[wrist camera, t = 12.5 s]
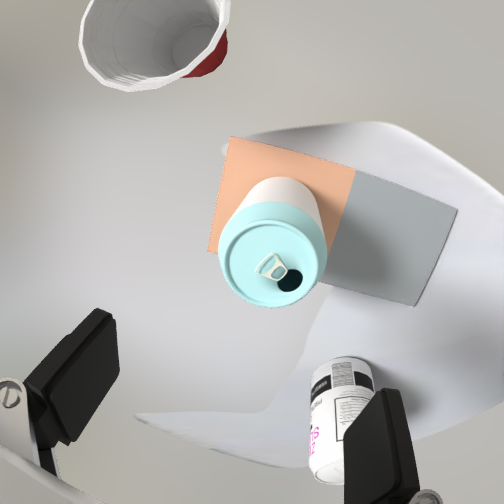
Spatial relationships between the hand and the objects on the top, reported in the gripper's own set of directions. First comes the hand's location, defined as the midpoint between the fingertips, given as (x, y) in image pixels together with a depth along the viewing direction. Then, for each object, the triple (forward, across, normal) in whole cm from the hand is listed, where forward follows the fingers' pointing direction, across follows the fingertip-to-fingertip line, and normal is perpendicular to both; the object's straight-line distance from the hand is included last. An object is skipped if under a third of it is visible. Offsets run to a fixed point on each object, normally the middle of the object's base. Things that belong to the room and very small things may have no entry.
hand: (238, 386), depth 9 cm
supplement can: (+22, -14, +19) cm, 32 cm away
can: (+21, 0, 0) cm, 21 cm away
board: (+22, -6, 0) cm, 23 cm away
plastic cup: (+22, +11, -14) cm, 28 cm away
